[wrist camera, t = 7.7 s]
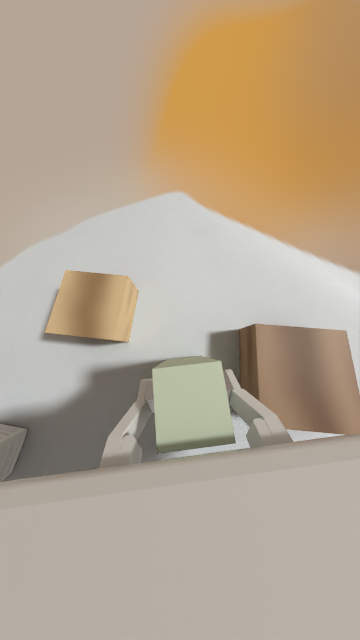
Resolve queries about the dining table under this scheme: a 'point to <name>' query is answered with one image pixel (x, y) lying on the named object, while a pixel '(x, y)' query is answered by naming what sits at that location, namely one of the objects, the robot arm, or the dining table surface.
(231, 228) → the dining table surface
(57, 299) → the oak block
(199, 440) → the sage block
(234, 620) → the robot arm
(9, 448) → the skincare box
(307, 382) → the walnut block
